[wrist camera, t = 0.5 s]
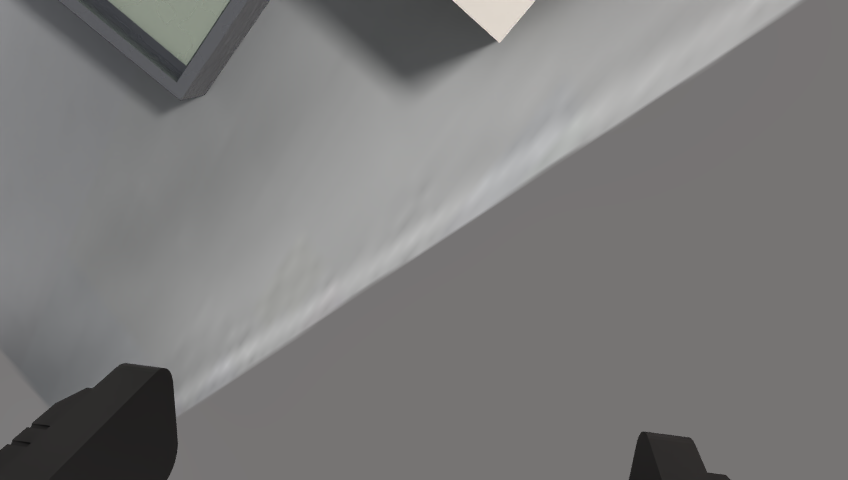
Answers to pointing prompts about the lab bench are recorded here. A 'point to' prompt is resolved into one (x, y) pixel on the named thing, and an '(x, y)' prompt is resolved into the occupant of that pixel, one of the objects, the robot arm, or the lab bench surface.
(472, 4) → the block
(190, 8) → the tray with compartments
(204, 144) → the lab bench surface
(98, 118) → the lab bench surface
